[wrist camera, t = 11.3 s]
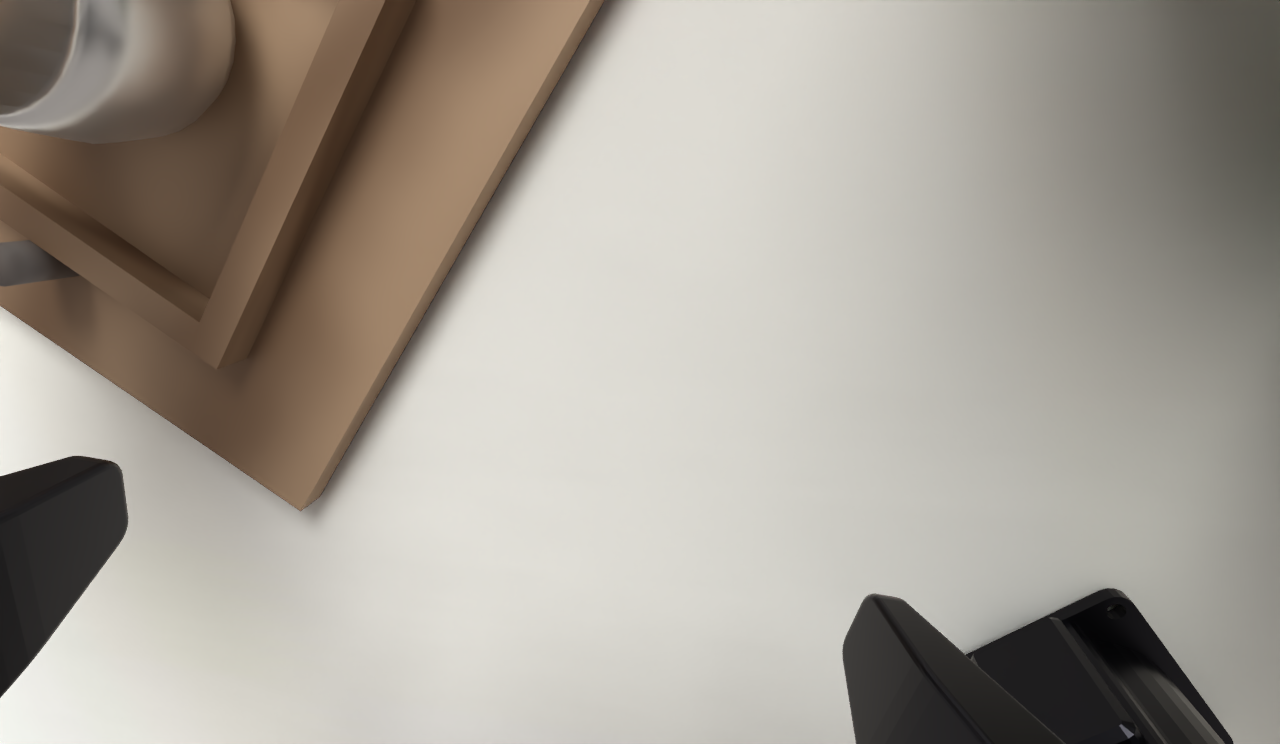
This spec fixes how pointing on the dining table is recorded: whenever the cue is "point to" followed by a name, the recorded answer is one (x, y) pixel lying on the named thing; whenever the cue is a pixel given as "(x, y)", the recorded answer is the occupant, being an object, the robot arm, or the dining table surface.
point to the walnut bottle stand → (283, 218)
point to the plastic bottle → (112, 66)
